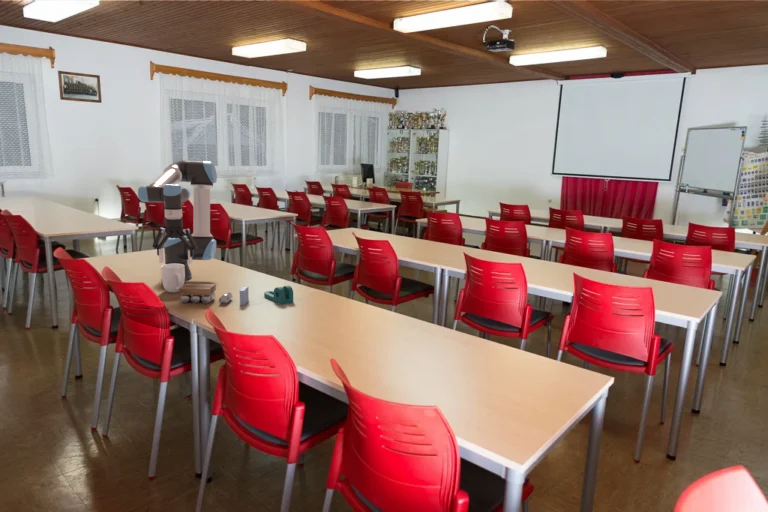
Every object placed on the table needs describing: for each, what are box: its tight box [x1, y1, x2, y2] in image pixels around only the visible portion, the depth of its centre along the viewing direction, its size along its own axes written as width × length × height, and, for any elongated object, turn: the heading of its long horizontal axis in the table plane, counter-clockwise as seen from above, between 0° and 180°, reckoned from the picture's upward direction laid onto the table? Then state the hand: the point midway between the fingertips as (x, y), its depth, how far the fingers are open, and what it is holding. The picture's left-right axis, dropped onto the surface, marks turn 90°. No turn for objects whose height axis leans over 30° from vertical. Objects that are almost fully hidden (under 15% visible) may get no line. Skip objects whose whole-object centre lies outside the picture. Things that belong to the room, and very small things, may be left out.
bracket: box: [263, 284, 294, 306], centre depth 250 cm, size 18×7×8 cm, turn 43°
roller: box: [218, 291, 233, 305], centre depth 243 cm, size 8×4×4 cm, turn 0°
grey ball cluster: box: [179, 291, 216, 305], centre depth 243 cm, size 8×14×4 cm, turn 90°
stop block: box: [239, 285, 249, 306], centre depth 243 cm, size 8×2×7 cm, turn 0°
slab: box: [178, 283, 216, 296], centre depth 242 cm, size 9×14×3 cm, turn 90°
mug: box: [160, 263, 186, 293], centre depth 256 cm, size 15×11×13 cm
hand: (176, 262), depth 240 cm, fingers open, 13 cm apart
